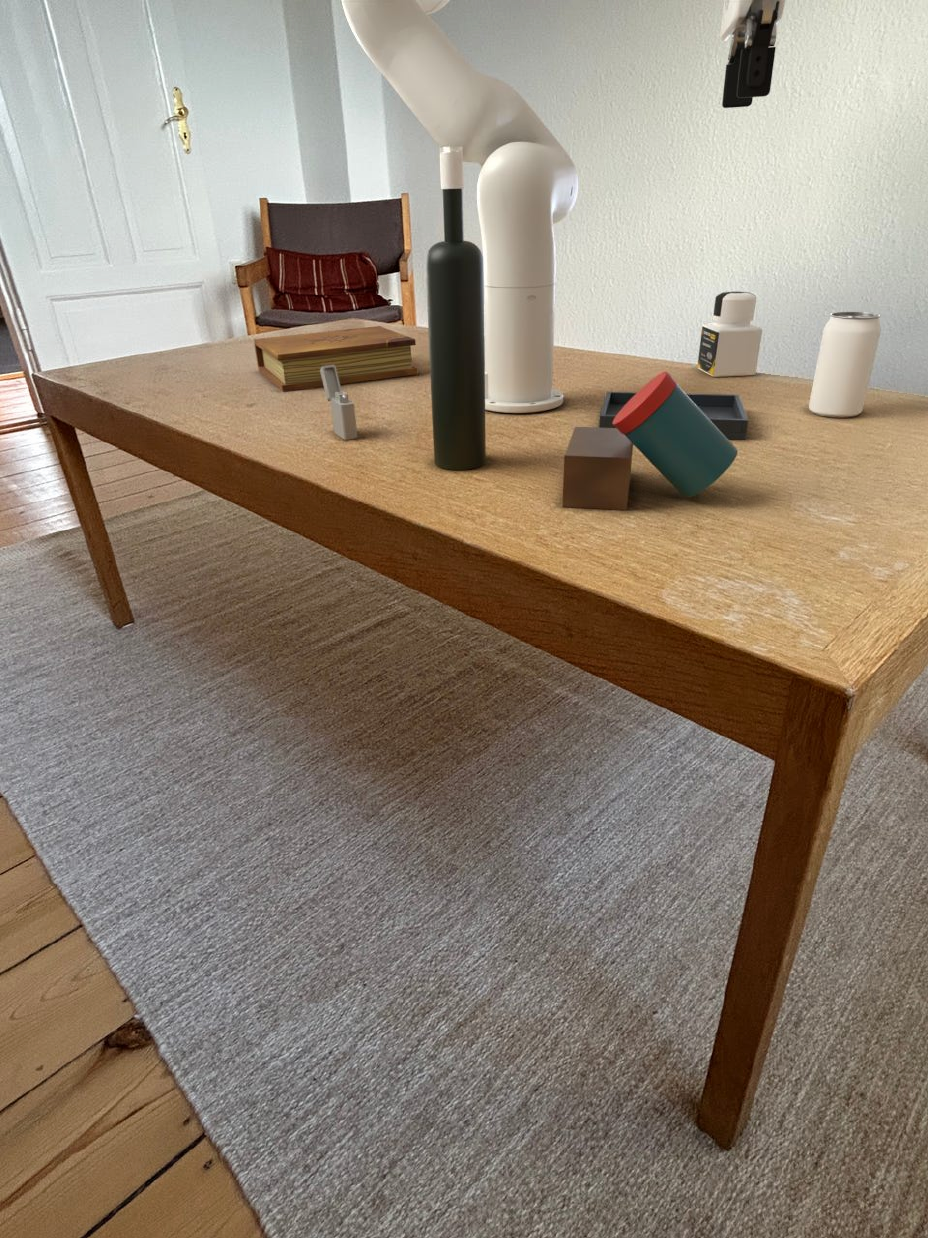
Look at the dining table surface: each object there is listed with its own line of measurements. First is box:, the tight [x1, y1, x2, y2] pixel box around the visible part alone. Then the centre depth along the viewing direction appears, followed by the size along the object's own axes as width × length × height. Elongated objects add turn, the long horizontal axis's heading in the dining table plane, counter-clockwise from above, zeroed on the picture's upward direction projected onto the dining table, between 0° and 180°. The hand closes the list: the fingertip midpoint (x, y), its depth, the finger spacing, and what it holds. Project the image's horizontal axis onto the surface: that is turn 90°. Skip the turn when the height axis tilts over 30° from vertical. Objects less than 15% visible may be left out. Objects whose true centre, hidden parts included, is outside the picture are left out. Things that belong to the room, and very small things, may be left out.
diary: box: [253, 325, 419, 392], centre depth 129 cm, size 23×19×6 cm
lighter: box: [320, 365, 359, 441], centre depth 94 cm, size 7×2×8 cm, turn 28°
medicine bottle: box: [696, 291, 763, 378], centre depth 119 cm, size 7×7×12 cm
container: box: [613, 370, 739, 498], centre depth 71 cm, size 12×7×12 cm, turn 77°
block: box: [561, 426, 634, 511], centre depth 74 cm, size 6×10×5 cm, turn 167°
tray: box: [598, 391, 749, 441], centre depth 96 cm, size 17×13×2 cm
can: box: [808, 311, 882, 419], centre depth 96 cm, size 6×6×12 cm
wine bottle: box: [424, 146, 487, 471], centre depth 77 cm, size 6×6×30 cm
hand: (744, 101), depth 81 cm, fingers open, 9 cm apart
